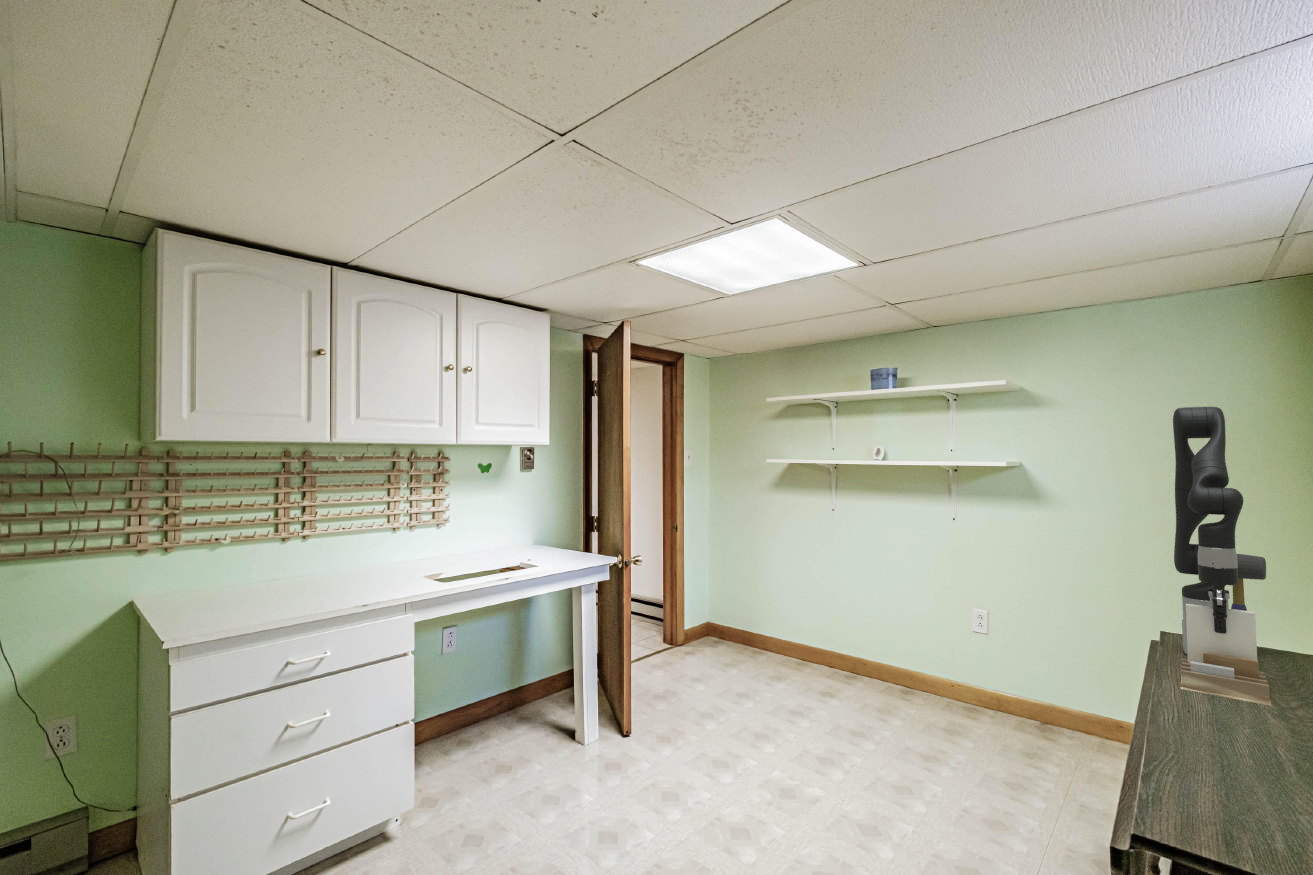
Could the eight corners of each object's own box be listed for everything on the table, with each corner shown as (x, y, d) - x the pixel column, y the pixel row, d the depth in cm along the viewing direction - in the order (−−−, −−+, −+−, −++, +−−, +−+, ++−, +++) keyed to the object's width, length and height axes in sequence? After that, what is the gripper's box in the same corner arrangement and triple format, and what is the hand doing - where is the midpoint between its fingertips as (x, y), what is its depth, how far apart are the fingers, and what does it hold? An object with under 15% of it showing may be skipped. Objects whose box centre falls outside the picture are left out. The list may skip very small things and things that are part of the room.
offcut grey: (1191, 684, 152) (1190, 660, 152) (1234, 692, 146) (1233, 668, 147) (1191, 686, 150) (1190, 662, 150) (1235, 695, 145) (1234, 670, 145)
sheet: (1188, 671, 158) (1185, 603, 159) (1257, 683, 149) (1254, 611, 150) (1188, 673, 156) (1185, 604, 157) (1258, 686, 148) (1255, 613, 148)
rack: (1181, 676, 161) (1180, 656, 161) (1265, 691, 150) (1264, 670, 150) (1180, 693, 149) (1179, 672, 149) (1272, 711, 138) (1271, 688, 139)
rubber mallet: (1271, 654, 179) (1266, 554, 180) (1268, 660, 174) (1264, 557, 175) (1215, 645, 188) (1211, 550, 189) (1211, 649, 183) (1207, 552, 185)
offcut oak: (1204, 682, 153) (1202, 651, 153) (1259, 692, 146) (1257, 660, 146) (1204, 685, 151) (1203, 653, 152) (1260, 695, 145) (1258, 662, 145)
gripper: (1197, 559, 161) (1200, 623, 161) (1198, 566, 151) (1200, 634, 151) (1236, 562, 156) (1238, 628, 156) (1239, 569, 146) (1242, 640, 146)
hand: (1220, 631), depth 153 cm, fingers closed on sheet, 2 cm apart
